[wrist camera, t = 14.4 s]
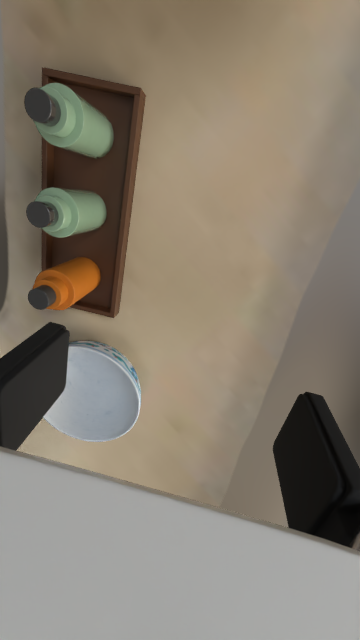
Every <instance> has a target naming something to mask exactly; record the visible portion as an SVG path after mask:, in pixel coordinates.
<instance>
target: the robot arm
mask: <svg viewBox="0 0 360 640" xmlns="http://www.w3.org/2000/svg"><path fill="white" fill-rule="evenodd" d="M68 348H69V331H68V330H66V327H65V326H63V325H60V324H56V323H52V322H50V323H48V324H46V325H45V326H44V327H42V328H41V329H40V330H38V331H37V332H36V333H34V334H33V335H31V336H30V337H29V338H27V339H26V340H25V341H23V342H22V343H21V344H19V345H18V346H17V347H15V348H14V349H13V350H11V351H10V352H8V353H7V354H6V355H4V356H3V357H2V358H0V640H360V468H359V466H358V464H357V462H356V460H355V459H354V457H353V454H352V453H351V451H350V449H349V447H348V445H347V443H346V441H345V439H344V437H343V435H342V433H341V431H340V429H339V427H338V425H337V423H336V421H335V419H334V417H333V415H332V413H331V412H330V410H329V407H328V405H327V404H326V402H325V400H324V398H323V396H321V395H317V394H314V393H309V392H305V393H304V394H300V395H299V396H298V398H297V400H296V401H295V403H294V405H293V407H292V409H291V411H290V413H289V415H288V417H287V419H286V421H285V423H284V424H283V426H282V428H281V430H280V432H279V434H278V436H277V438H276V440H275V442H274V445H273V453H274V458H275V463H276V468H277V472H278V477H279V482H280V487H281V492H282V497H283V502H284V507H285V511H286V516H287V521H288V526H289V528H288V527H284V526H281V525H278V524H274V523H271V522H267V521H264V520H260V519H257V518H254V517H250V516H247V515H243V514H240V513H236V512H233V511H230V510H226V509H223V508H219V507H216V506H212V505H209V504H206V503H202V502H199V501H195V500H192V499H188V498H185V497H181V496H178V495H174V494H171V493H167V492H164V491H160V490H157V489H153V488H149V487H146V486H142V485H139V484H135V483H132V482H128V481H125V480H121V479H118V478H114V477H111V476H107V475H103V474H100V473H96V472H93V471H89V470H85V469H82V468H78V467H75V466H71V465H67V464H64V463H60V462H57V461H53V460H49V459H46V458H42V457H38V456H35V455H31V454H27V453H23V452H19V451H16V450H17V449H18V448H19V446H20V445H21V444H22V443H23V441H24V440H25V439H26V438H27V436H28V435H29V434H30V433H31V431H32V430H33V429H34V428H35V426H36V425H37V424H38V423H39V421H40V420H41V419H42V418H43V416H44V415H45V414H46V413H47V412H48V410H49V409H50V408H51V407H52V405H53V404H54V403H55V402H56V400H57V399H58V398H59V397H60V395H61V394H62V393H63V391H64V389H65V386H66V376H67V362H68Z"/></svg>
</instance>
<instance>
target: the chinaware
mask: <svg viewBox="0 0 360 640" xmlns="http://www.w3.org/2000/svg"><path fill="white" fill-rule="evenodd" d="M140 405H141V390H140V384H139V380H138V376H137V374H136V372H135V370H134V368H133V366H132V364H131V363H130V362H129V360H128V359H127V358H126V357H125V356H124V355H123V354H122V353H120V352H119V351H118V350H116V349H115V348H113V347H111V346H109V345H106V344H103V343H100V342H95V341H75V342H70V343H69V348H68V362H67V376H66V386H65V389H64V391H63V393H62V394H61V395H60V397H59V398H58V399H57V400H56V402H55V403H54V404H53V405H52V407H51V408H50V409H49V410H48V412H47V413H46V414H45V415H44V416H43V418H44V419H45V420H46V421H47V422H48V423H49V424H50V425H52V426H53V427H54V428H56V429H57V430H59V431H60V432H62V433H64V434H66V435H68V436H71V437H73V438H76V439H80V440H84V441H90V442H103V441H109V440H113V439H116V438H118V437H121V436H122V435H124V434H125V433H127V432H128V431H129V430H130V429H131V428H132V427H133V425H134V424H135V422H136V420H137V418H138V415H139V412H140Z"/></svg>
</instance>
